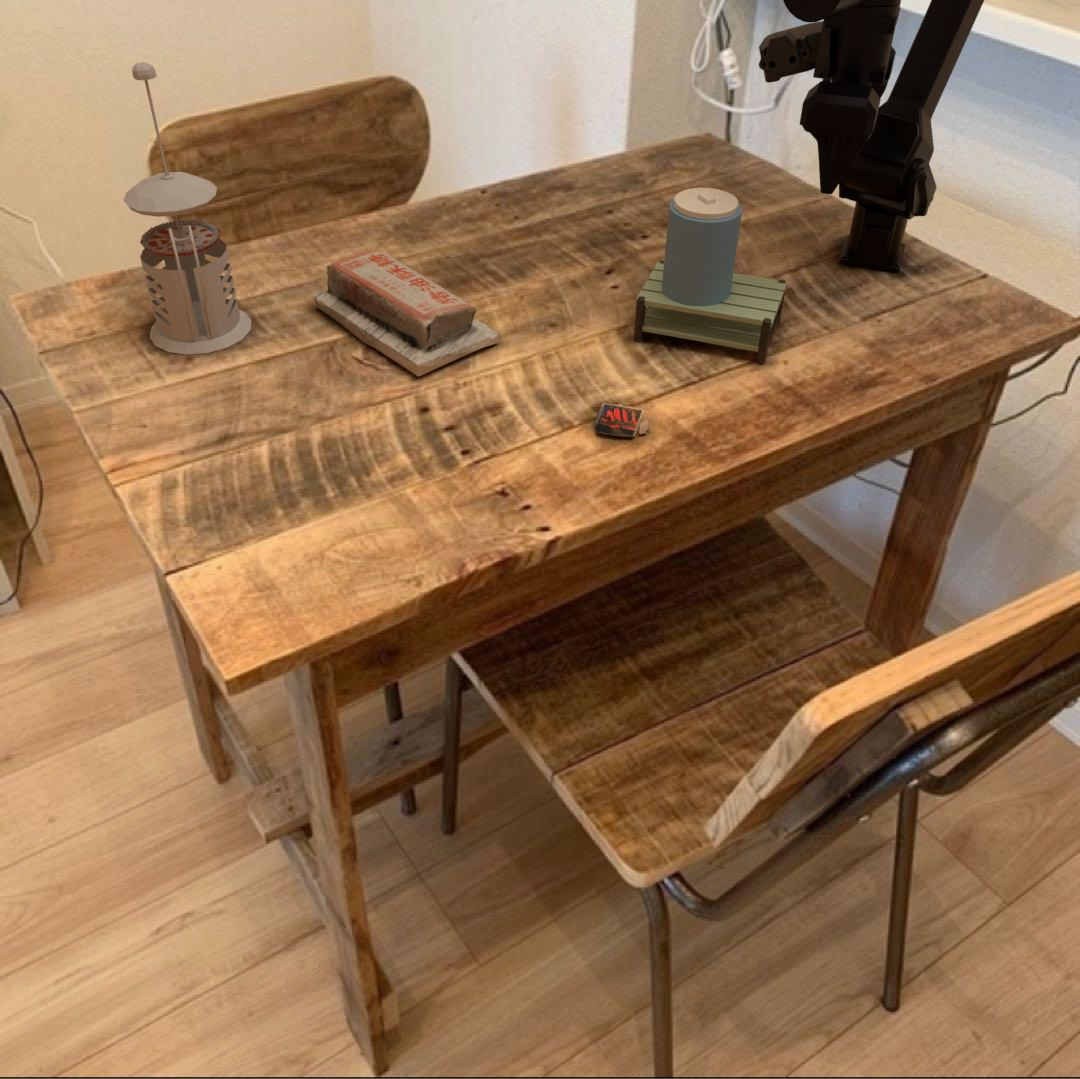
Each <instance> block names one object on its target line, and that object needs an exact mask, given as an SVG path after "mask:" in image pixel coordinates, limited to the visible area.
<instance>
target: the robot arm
mask: <svg viewBox="0 0 1080 1079" xmlns="http://www.w3.org/2000/svg"><path fill="white" fill-rule="evenodd" d="M782 1H783V4H784V7H786V9H787V11H788V12H789V13H790V14H791V15H792V16H793V17H794V18H796V19H797V20H799V21H801V22H804V23H805V24H802V25H799V26H793V27H791V28H787V29H784V30H780V31H775V32H773V33H770V34H768V35H766V36H765V37H764V38H763V39H762V41H761V43H760V44H759V46H758V52H759V56H760V60H759V62H758V67H759V69H760V70H762V71H763V76H764V81H765V83H768V84H769V83H775V82H779V81H780V80H781V79H782V78H786V77H790V76H794V75H798V74H802V73H806V72H809V71H812V70H813V76H812V77H813V78H814V79H822V80H821V81H819V82H818V83H816V84H815V85H814V86H813V87H811V88H810V89H809V90H808V91H807V93H806V95H805V97H804V100H803V101H802V105H801V106H802V107H801V114H800V118H799V125H800V126H802V129H803V130H804V131H805V132H806V133H810V135H811V136H812V138H814V140H815V141H816V143H817V155H818V170H819V173H818V174H819V189H820V190H819V191H820V193H821V194H824V195H833V194H834V192H835V191H836V189H837V188H838V197H839V198H841V199H846V200H849V201H852V202H855V205H854V210H853V214H852V219H851V225H850V229H849V232H848V233H849V234H848V235H846V236H845V239H844V241H843V245H842V249H841V251H840V255H839V259H838V262H839V263H841V264H845V265H851V266H857V267H858V266H859V267H864V268H870V269H878V270H883V271H889V272H900V271H901V267H902V261H903V259H904V258H903V257H904V252H905V247H906V244H904V243H903V241H904V237H905V234H906V229H907V225H908V220H912V219H913V218H914V217H925V216H927V215H928V212H929V208H930V206H931V203H932V202H933V201H934V197H935V193H936V191H937V188H938V187H937V183H936V180H935V178H934V174H933V171H932V168H931V164H930V163H931V160H932V157H933V154H934V151H935V146H934V144H935V143H934V136H933V127H932V118H933V115H934V113H935V111H936V109H937V106H938V104H939V102H940V100H941V97H942V95H943V93H944V91H945V89H946V87H947V84H948V82H949V80H950V78H951V75H952V73H953V71H954V69H955V66H956V64H957V62H958V60H959V57H960V55H961V53H962V51H963V49H964V47H965V45H966V43H967V40H968V38H969V36H970V33H971V32H972V29H973V27H974V25H975V22H976V20H977V17H978V15H979V13H980V11H981V9H982V7H983V4H984V2H985V0H930V3H929V5H928V7H927V9H926V12H925V13H924V16H923V19H922V21H921V23H920V25H919V28H918V30H917V31H916V34H915V37H914V38H913V40H912V41H913V42H912V44H911V46H910V48H909V51H908V53H907V55H906V57H905V59H904V62H903V64H902V66H901V68H900V71H899V73H898V76H897V77H896V80H895V83H894V85H893V86H892V89H891V91H890V93H889V96H888V98H887V100H886V101H885V102H883V103H882V104H881V101H882V97H883V95H884V93H885V92H886V90H887V86H888V83H889V81H890V79H891V75H892V72H893V68H894V62H895V58H896V53H897V52H896V50H895V48H894V47H893V41H894V36H895V33H896V32H895V30H896V27H897V24H898V22H899V17H900V12H901V3H902V0H782ZM880 104H881V105H880Z"/></svg>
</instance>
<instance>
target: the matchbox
mask: <svg viewBox="0 0 1080 1079" xmlns="http://www.w3.org/2000/svg"><path fill="white" fill-rule="evenodd" d="M644 414H645V409H644V408H638V407H633V406H626V405H623V404H622V403H619V404H614V403H613V404H612V403H605V402H603V403H601V404H600V409H598V414H597V415H598V416H597V418H596V419H595V421H594V423H595V432H596V433H601V434H603V435H604V434H605V435H609V436H616V437H622V438H623V437H627V438H628V437H635V435H636V434H637V435H643V434H647V433H648V432H649V431H650V428H651V427H650V421H649V419H648V418H646V419H644V420H643V415H644Z"/></svg>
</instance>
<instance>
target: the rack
mask: <svg viewBox="0 0 1080 1079" xmlns="http://www.w3.org/2000/svg"><path fill="white" fill-rule="evenodd" d="M663 269H664V260H661V259H660V260H658V261H657V262H656V264H655V266H654V268H653V270H652V271H651V273H650V274H649V276H648V277H647V280H646V281H645V283H644V284H643V286H642V288H641V290H640V291H639V293H638V294H637V297H636V298H635V305H636V306H635V316H634V317H635V318H634V332H633V341H635V342H636V343H640V342H643V340H644V334H645V333H651V334H656V335H663V336H668V337H674V338H678V339H684V340H690V341H695V342H702V343H705V344H706V343H707V344H712V345H717V346H724V347H729V348H734V349H740V350H744V351H751V352H756V357H755V363H756V364H758V365H764V364H766V362H767V355H768V350H769V347H770V345H771V342H772V340H773V337H774V333H775V332H776V328H777V327H778V325H780V323H781V320H782V319H781V318H782V312H783V308H784V307H783V306H784V300H785V296H786V289H787V286H788V281H787V280H785V279H773V278H767V277H761V276H755V275H751V274H744V273H738V272H733V280H732V287H731V294H730V296H729V297H728V298H727V299H726V300H725V301H723V302H721V303H718V304H714V305H709V306H693V305H686V304H682V303H679V302H676V301H674V300H672V299H670V298H669V297H667V296H666V295H665V294H664V292H663V290H662V280H663ZM644 332H645V333H644Z"/></svg>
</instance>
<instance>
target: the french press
mask: <svg viewBox="0 0 1080 1079" xmlns="http://www.w3.org/2000/svg"><path fill="white" fill-rule="evenodd" d="M131 73H132V77H133V80H135V81H144V84H145V88H146V93H147V94H146V95H147V98H148V102H149V106H150V111H151V116H152V120H153V124H154V129H155V133H156V137H157V138H156V139H157V143H158V147H159V152H160V155H161V161H162V164H163V169H164V172H159V173H157V174H153V175H152V176H151V175H150V176H148V177H146V178H143V179H141V180H140V181H138V183H136V184H135V185H133V187H131V188H130V189H129V190H127V192H125V195H124V198H123V201H124V203H125V205H126V206H127V207H128V209H130V211H132V212H134V213H137V214H139V215H142V216H150V217H156V218H157V217H158V218H159V217H162V218H163V217H175V220H173V221H170V220H169V221H166V222H162V223H160V224H157V225H155V226H153V227H152V226H151V227H150V228H149V229H148V230H147V231H145V232H144V233H143V234H141V238H140V242H139V243H140V245H141V246H142V247H143V249H142V251H141V254H140V256H139V258H140V263H141V266H142V270H143V271H144V272H145V273H146V274H147V275H144V278H145V282H146V284H147V285H148V286H149V287H148V288H147V290H148V293H149V294H148V295H149V296H150V297H151V300H150V302H151V306H152V308H153V310H155V311H153V315H154V318H155V323H154V324H153V325H152V326H151V328H150V333H149V339H150V340H151V342H152V343H153V345H154V346H155V347H157V348H159V349H161V350H163V351H166V352H167V353H174V354H179V355H180V354H181V355H188V356H189V355H201V354H209V353H210V354H211V353H213V352H218V351H220V350H223V349H224V350H225V349H227V348H230V347H232V346H233V345H235V344H237V343H239V342H240V341H242V340H244V339H245V337H246V336H247V335H248V334H249V333H250V332H251V330H252V319H251V318H250V317H249V315H248V314H247V313H246V311H244V310H242V309H240V307H239V301H238V299H237V298H236V297H237V291H236V287H235V286H234V283H235V282H234V276H233V275H231V273H232V266H231V263H230V262H229V258H230V255H229V250H228V245H227V243H226V242H225V241H223V239H221V238H220V235H221V230H220V229H219V228H218V227H217V226H216V225H215V224H213V223H210V222H208V221H205V220H199V219H197V220H196V219H189V218H188V219H187V220H186V219H183V220H182V219H180V220H179V216H181V215H187V214H190V213H193V212H196V211H198V210H200V209H202V208H205V207H206V206H207V205H208V204H210V203H211V202H212V201H213V200H214V199H215V197H216V196H217V190H218V187H217V186H216V185H215V184H214V183H213V182H212V181H210V180H208V179H205V178H203V177H200V176H198V175H195V174H191V173H188V172H186V171H185V172H184V171H169V170H168V166H167V163H166V158H165V153H164V149H163V144H162V140H161V135H160V130H159V126H158V121H157V117H156V113H155V108H154V104H153V99H152V95H151V94H152V93H151V90H150V85H149V81H150V80H153V79H155V78H157V75H158V74H157V71H156V69H155V67H154V65H152V64H151V63H149V62H146V61H141V62H136V63H135V64H134V65H133V66H132V68H131ZM168 171H169V172H168ZM205 255H207V256H210V257H213V258H217V259H214V261H211V260H208V259H206V256H205ZM163 261H164V266H163V267H162V268H157V267H156V266H157V265H159V264H160V263H162V262H163ZM224 271H225V273H224V274H225V275H222V273H223V272H224ZM155 281H156V282H157V283H158V284H157V285H156V284H154V282H155ZM227 283H229V284H228V286H227V287H225V286H226V284H227ZM156 294H159V296H160V297H158V296H157V295H156ZM229 295H231V296H230V298H228V297H229ZM159 306H161V307H162V309H161V308H160V307H159Z"/></svg>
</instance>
